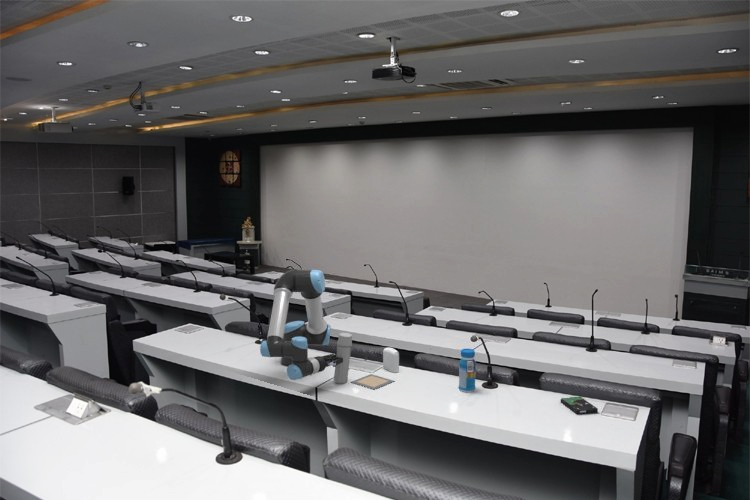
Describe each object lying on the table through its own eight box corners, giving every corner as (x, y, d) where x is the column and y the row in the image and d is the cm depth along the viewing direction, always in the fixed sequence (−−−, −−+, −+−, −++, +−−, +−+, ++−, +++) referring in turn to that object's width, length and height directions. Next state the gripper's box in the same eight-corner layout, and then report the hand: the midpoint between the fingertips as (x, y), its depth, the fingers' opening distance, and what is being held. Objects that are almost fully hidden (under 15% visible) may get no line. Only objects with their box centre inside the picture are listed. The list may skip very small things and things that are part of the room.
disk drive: (598, 414, 244) (580, 401, 258) (598, 408, 244) (580, 395, 258) (576, 416, 242) (559, 403, 256) (577, 410, 242) (560, 397, 256)
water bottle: (345, 385, 278) (351, 338, 274) (331, 382, 279) (335, 335, 275) (350, 378, 287) (355, 333, 283) (336, 376, 288) (340, 330, 284)
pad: (350, 382, 281) (350, 381, 281) (371, 374, 293) (371, 373, 293) (374, 390, 271) (374, 389, 271) (394, 381, 283) (394, 380, 283)
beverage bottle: (455, 390, 270) (456, 351, 268) (461, 385, 278) (462, 346, 276) (472, 393, 267) (473, 353, 264) (477, 388, 274) (478, 349, 272)
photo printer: (381, 368, 304) (382, 346, 302) (387, 367, 307) (387, 345, 305) (394, 373, 296) (394, 351, 295) (400, 371, 299) (400, 349, 297)
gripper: (305, 369, 273) (338, 358, 291) (325, 375, 264) (358, 364, 282) (305, 354, 272) (338, 344, 290) (325, 360, 263) (358, 350, 281)
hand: (348, 354), depth 286 cm, fingers closed on water bottle
